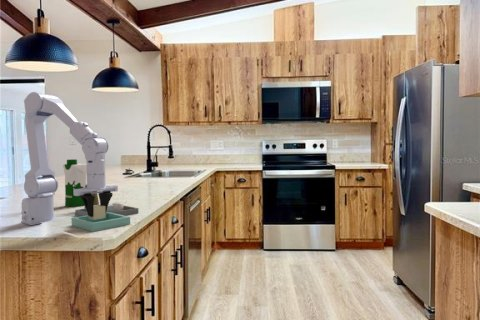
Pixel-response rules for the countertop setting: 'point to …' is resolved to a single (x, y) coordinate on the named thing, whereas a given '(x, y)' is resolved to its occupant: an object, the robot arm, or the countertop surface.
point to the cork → (96, 201)
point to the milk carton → (74, 182)
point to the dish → (101, 222)
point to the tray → (125, 211)
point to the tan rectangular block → (98, 212)
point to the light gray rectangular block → (110, 208)
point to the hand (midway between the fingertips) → (96, 215)
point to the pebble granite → (118, 206)
